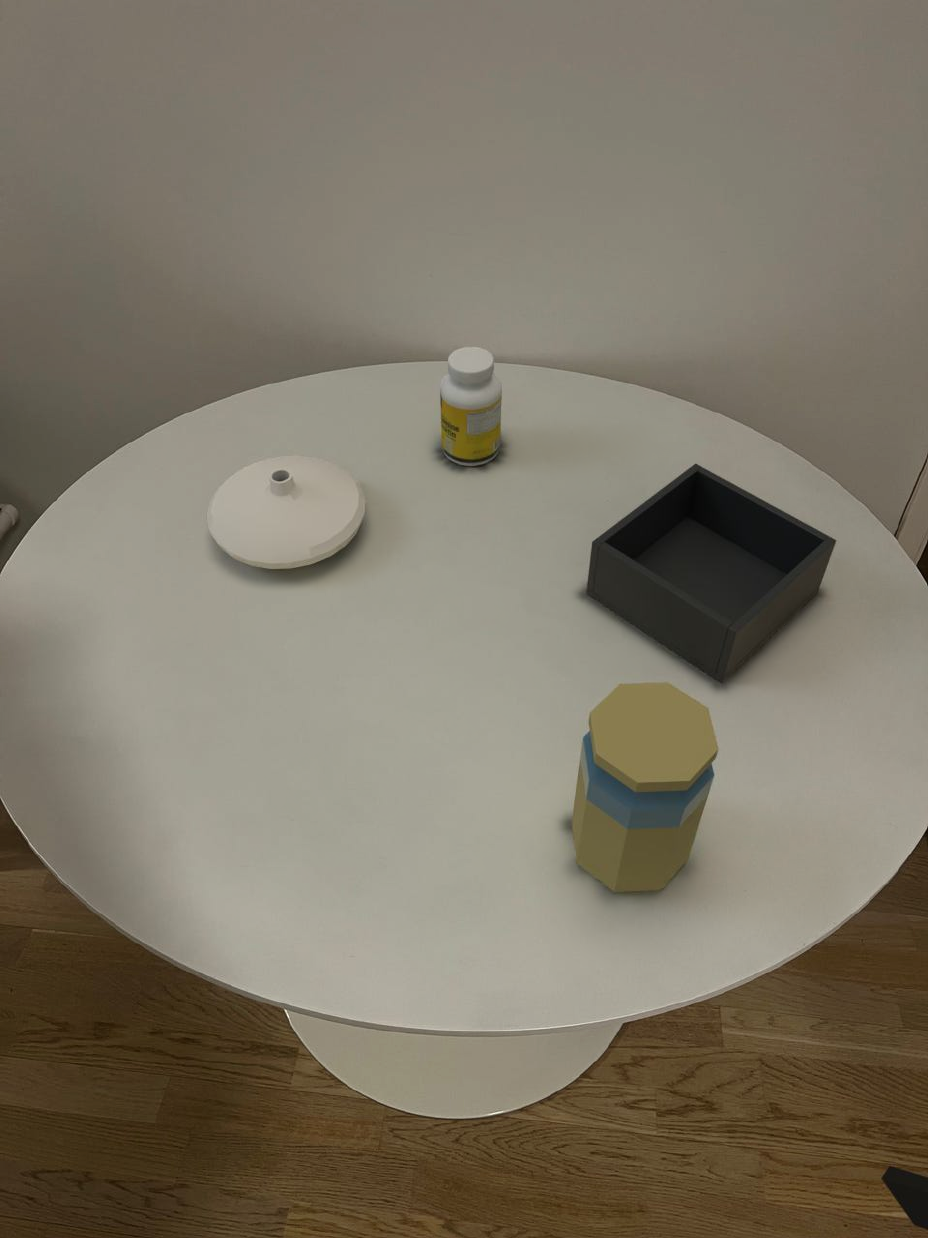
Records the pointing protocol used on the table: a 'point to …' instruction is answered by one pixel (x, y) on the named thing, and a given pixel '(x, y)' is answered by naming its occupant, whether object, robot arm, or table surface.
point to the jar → (642, 785)
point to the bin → (708, 569)
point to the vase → (286, 512)
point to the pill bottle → (470, 407)
